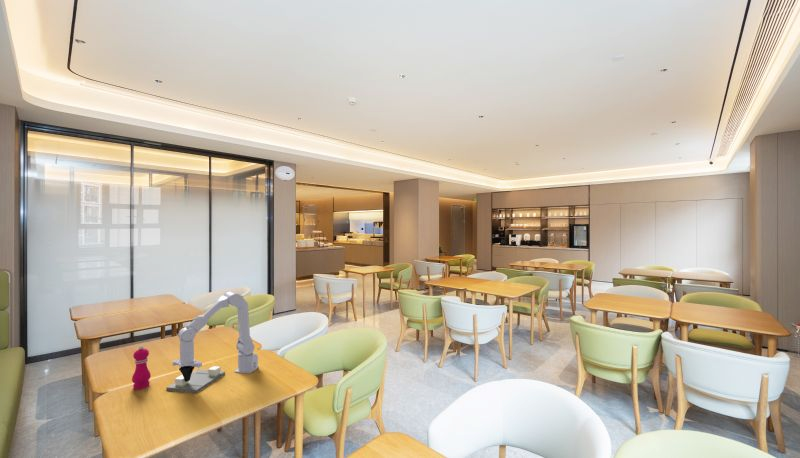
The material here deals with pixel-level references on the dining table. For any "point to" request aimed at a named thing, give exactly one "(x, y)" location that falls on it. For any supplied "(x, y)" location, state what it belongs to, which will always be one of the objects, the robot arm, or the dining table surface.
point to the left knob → (180, 380)
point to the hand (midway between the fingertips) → (187, 380)
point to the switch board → (196, 382)
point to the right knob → (214, 370)
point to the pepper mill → (141, 369)
